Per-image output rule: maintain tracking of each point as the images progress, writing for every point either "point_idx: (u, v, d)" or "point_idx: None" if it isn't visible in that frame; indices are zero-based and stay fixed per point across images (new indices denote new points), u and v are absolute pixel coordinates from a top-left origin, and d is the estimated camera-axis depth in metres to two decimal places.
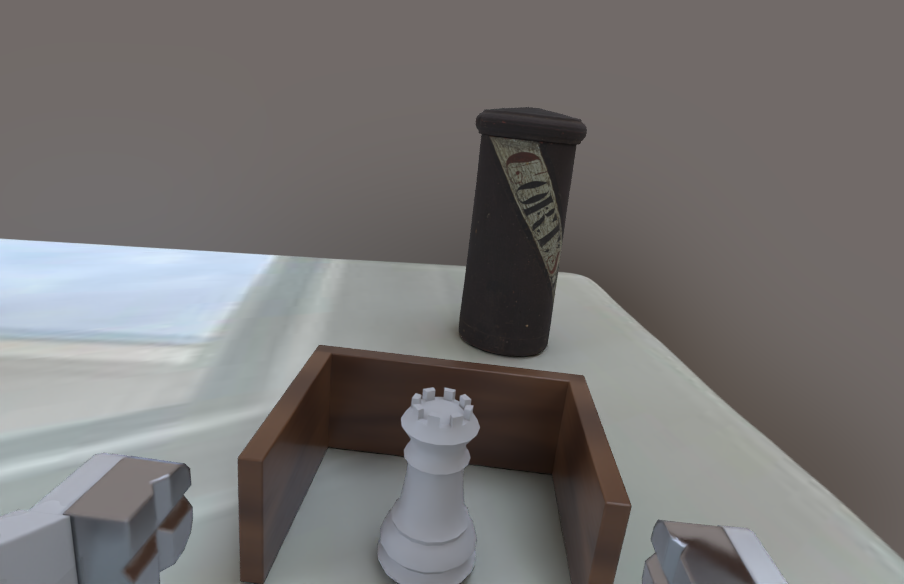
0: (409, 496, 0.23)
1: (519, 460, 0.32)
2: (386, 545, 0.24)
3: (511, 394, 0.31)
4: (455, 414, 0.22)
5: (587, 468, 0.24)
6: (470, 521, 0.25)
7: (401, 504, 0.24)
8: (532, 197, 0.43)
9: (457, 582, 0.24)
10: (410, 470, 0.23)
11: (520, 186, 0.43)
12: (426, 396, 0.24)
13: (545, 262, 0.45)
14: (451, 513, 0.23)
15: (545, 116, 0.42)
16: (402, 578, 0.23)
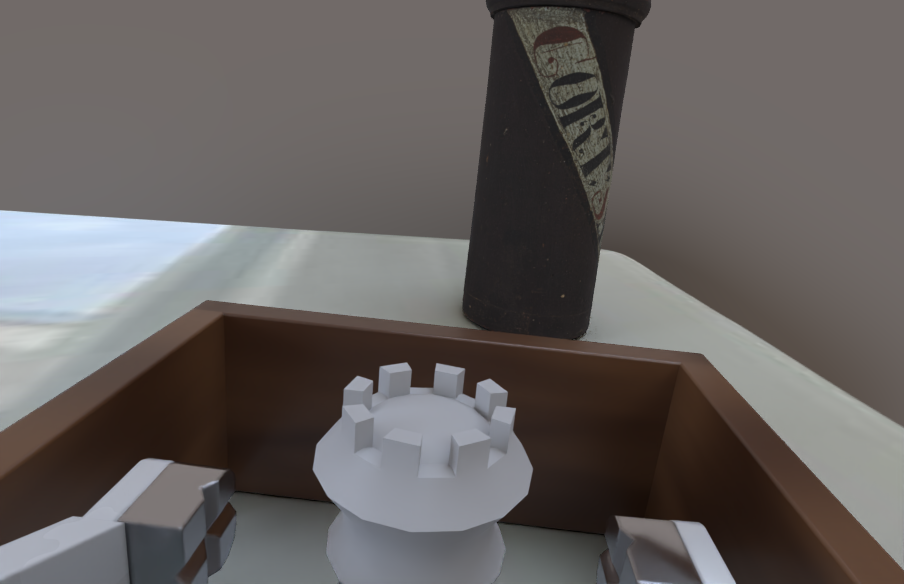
0: None
1: (580, 513, 0.17)
2: None
3: (567, 390, 0.16)
4: (466, 434, 0.07)
5: (802, 569, 0.10)
6: None
7: None
8: (572, 99, 0.29)
9: None
10: None
11: (555, 80, 0.29)
12: (387, 386, 0.09)
13: (590, 200, 0.31)
14: None
15: None
16: None
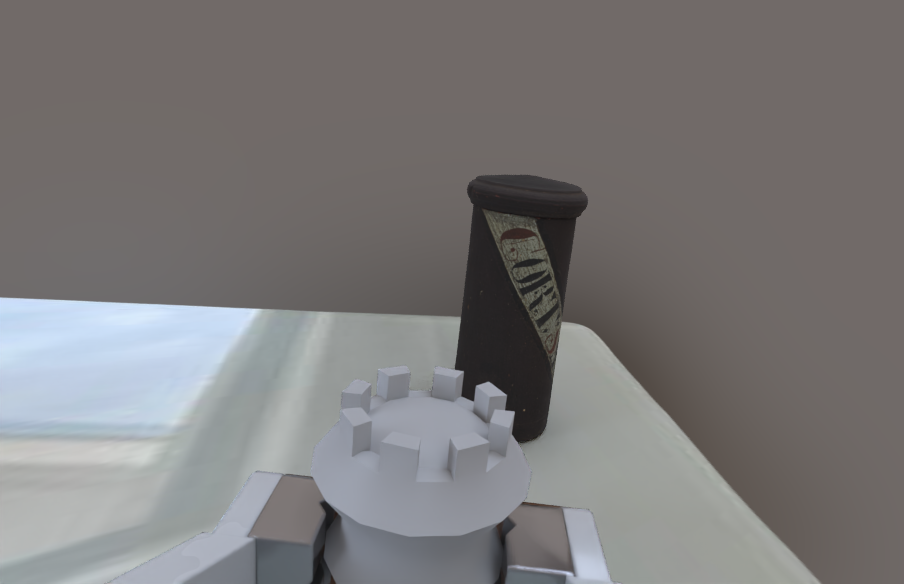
0: None
1: None
2: None
3: None
4: (465, 438, 0.07)
5: None
6: None
7: None
8: (528, 276, 0.40)
9: None
10: None
11: (516, 264, 0.40)
12: (385, 389, 0.09)
13: (544, 342, 0.42)
14: None
15: (542, 190, 0.38)
16: None
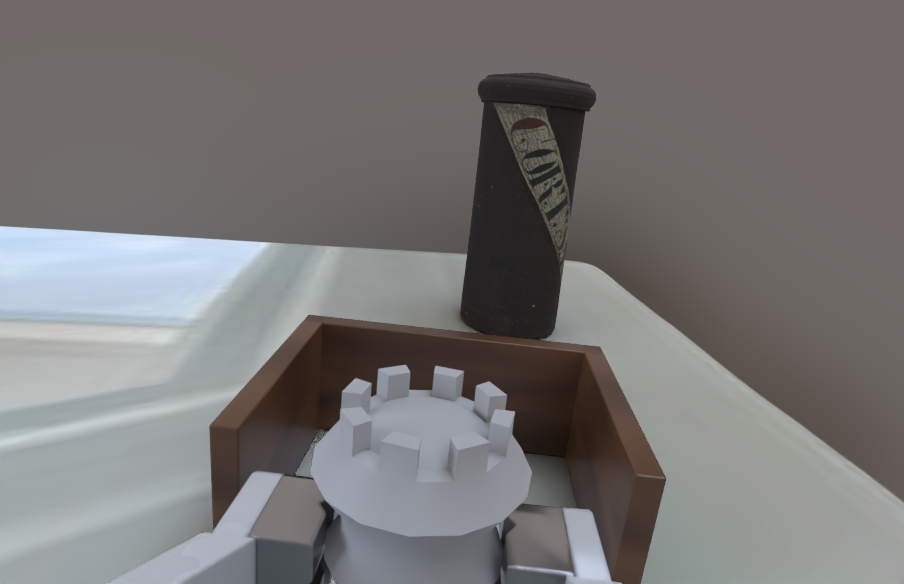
0: None
1: (529, 441, 0.29)
2: None
3: (520, 367, 0.28)
4: (465, 438, 0.07)
5: (610, 441, 0.21)
6: None
7: None
8: (538, 167, 0.41)
9: None
10: None
11: (526, 154, 0.40)
12: (386, 388, 0.09)
13: (553, 237, 0.43)
14: None
15: (552, 79, 0.39)
16: None
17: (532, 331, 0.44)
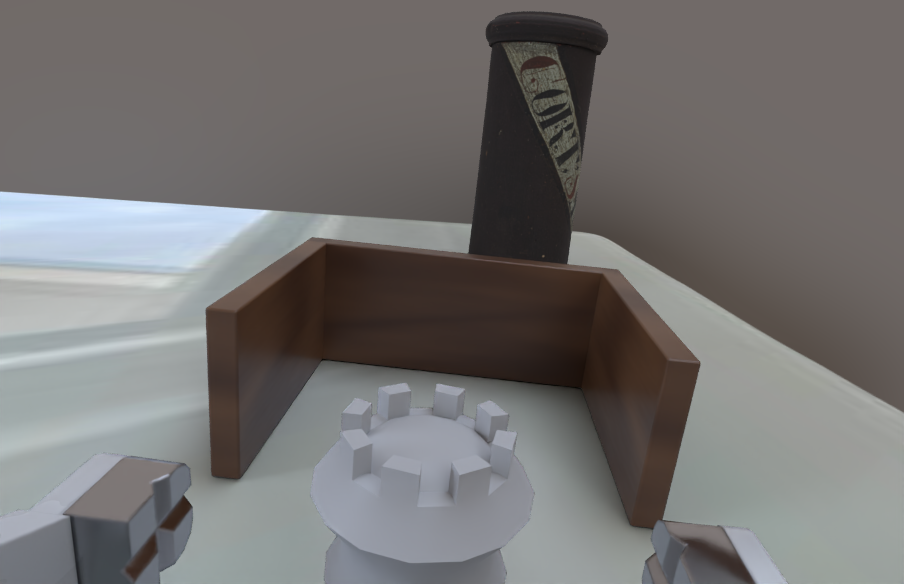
0: None
1: (543, 371, 0.28)
2: None
3: (535, 290, 0.27)
4: (467, 462, 0.07)
5: (635, 342, 0.20)
6: None
7: None
8: (549, 108, 0.39)
9: None
10: None
11: (536, 95, 0.39)
12: (386, 407, 0.09)
13: (563, 184, 0.41)
14: None
15: (564, 14, 0.38)
16: None
17: None
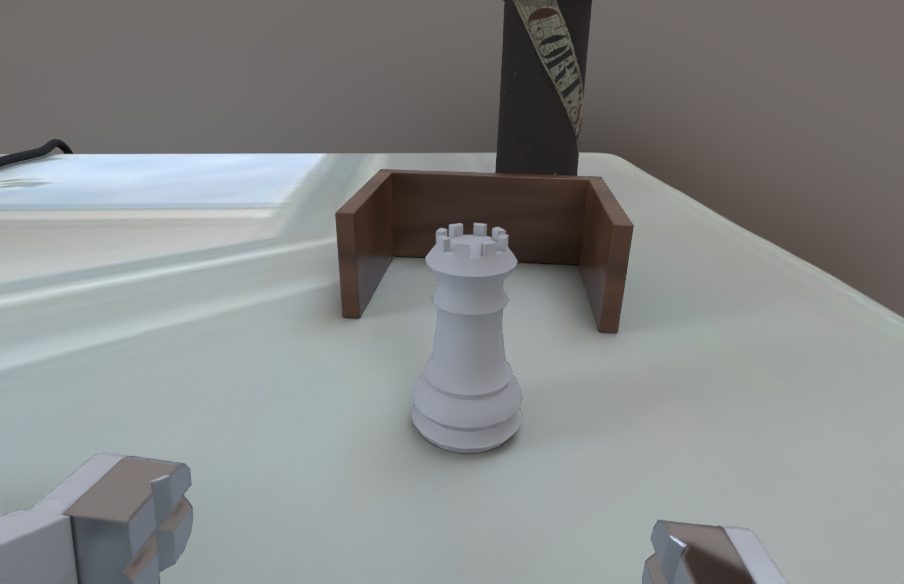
0: (441, 346, 0.21)
1: (551, 254, 0.39)
2: (420, 404, 0.21)
3: (541, 195, 0.38)
4: (487, 242, 0.19)
5: (601, 220, 0.31)
6: (513, 377, 0.22)
7: (434, 358, 0.21)
8: (553, 51, 0.48)
9: (502, 440, 0.21)
10: (440, 316, 0.20)
11: (542, 41, 0.48)
12: (453, 232, 0.20)
13: (568, 113, 0.51)
14: (490, 362, 0.20)
15: None
16: (440, 437, 0.21)
17: None
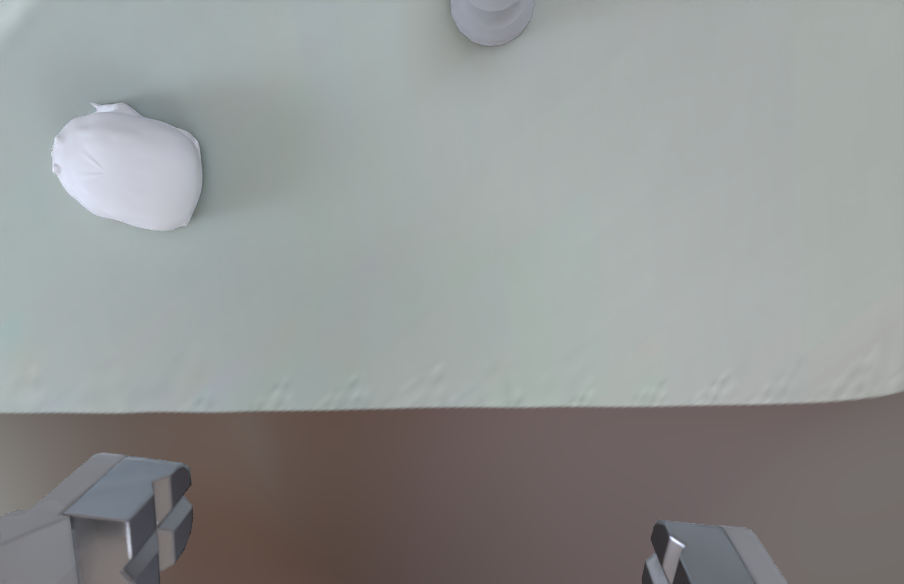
0: (471, 3, 0.27)
1: None
2: (456, 18, 0.29)
3: None
4: None
5: None
6: None
7: None
8: None
9: (515, 36, 0.30)
10: None
11: None
12: None
13: None
14: (508, 12, 0.27)
15: None
16: (472, 37, 0.30)
17: None
